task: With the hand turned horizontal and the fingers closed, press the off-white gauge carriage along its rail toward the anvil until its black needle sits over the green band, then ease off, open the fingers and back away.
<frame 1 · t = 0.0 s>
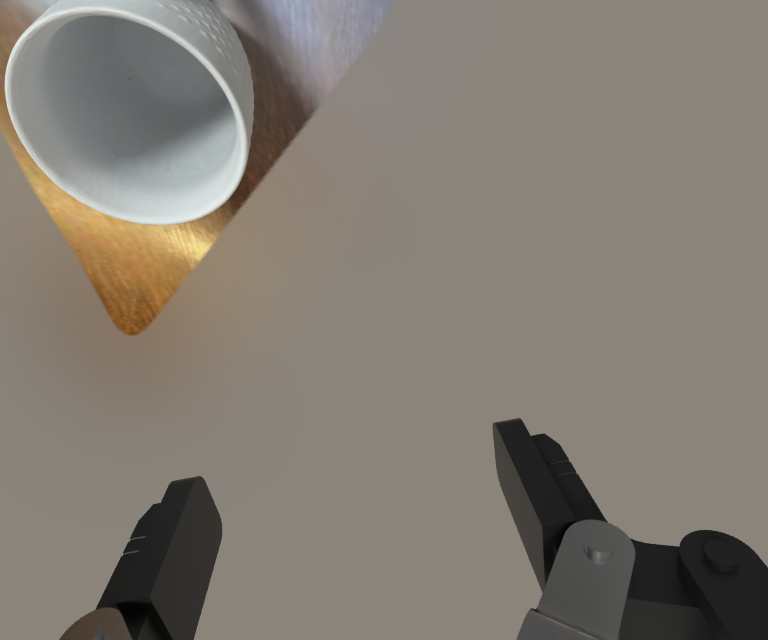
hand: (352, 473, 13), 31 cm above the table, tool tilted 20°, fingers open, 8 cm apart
mug: (176, 29, 33), on the table
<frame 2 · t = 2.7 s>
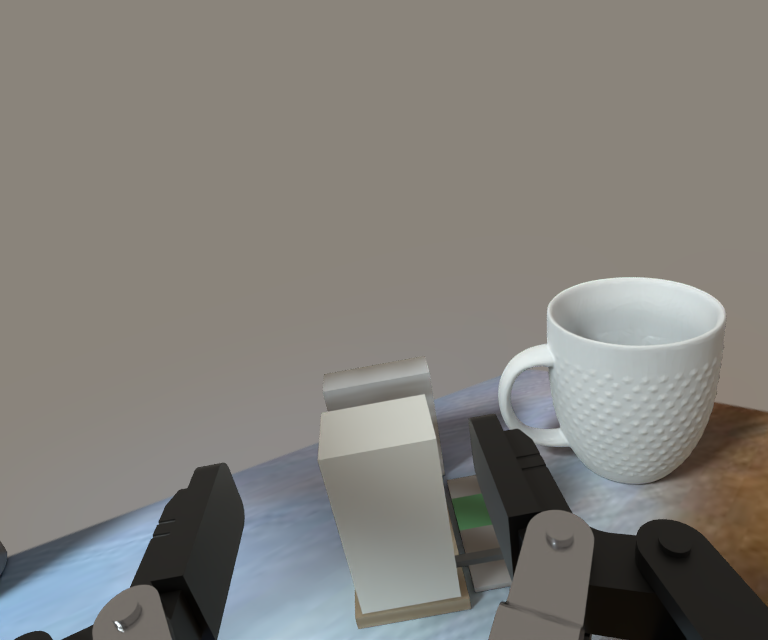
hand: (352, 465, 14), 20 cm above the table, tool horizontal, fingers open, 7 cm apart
gauge carriage: (422, 501, 29), point 7 cm above the table, slide at 0.0 cm
gauge base: (402, 522, 37), on the table
mug: (609, 458, 39), on the table
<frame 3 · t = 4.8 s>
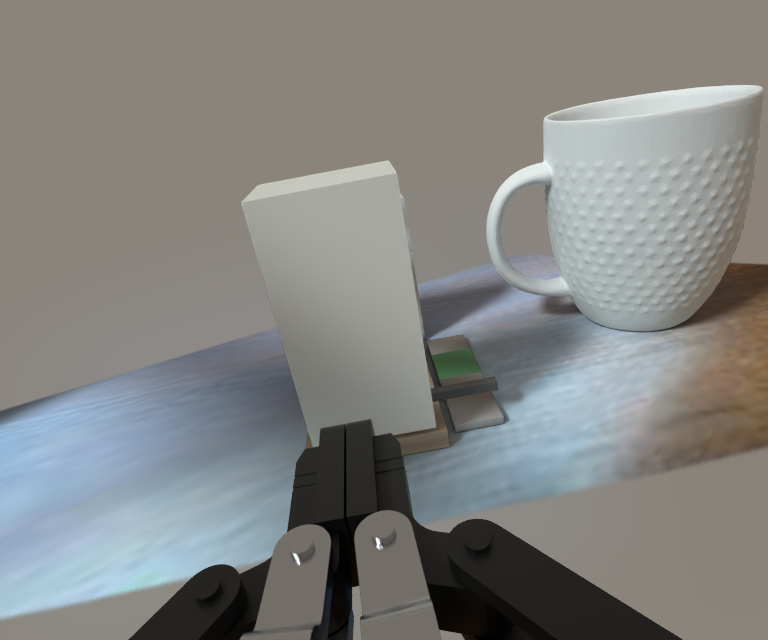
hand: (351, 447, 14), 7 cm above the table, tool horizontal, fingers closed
gauge carriage: (386, 302, 23), point 7 cm above the table, slide at 0.0 cm
gauge base: (372, 379, 31), on the table
mug: (617, 314, 34), on the table
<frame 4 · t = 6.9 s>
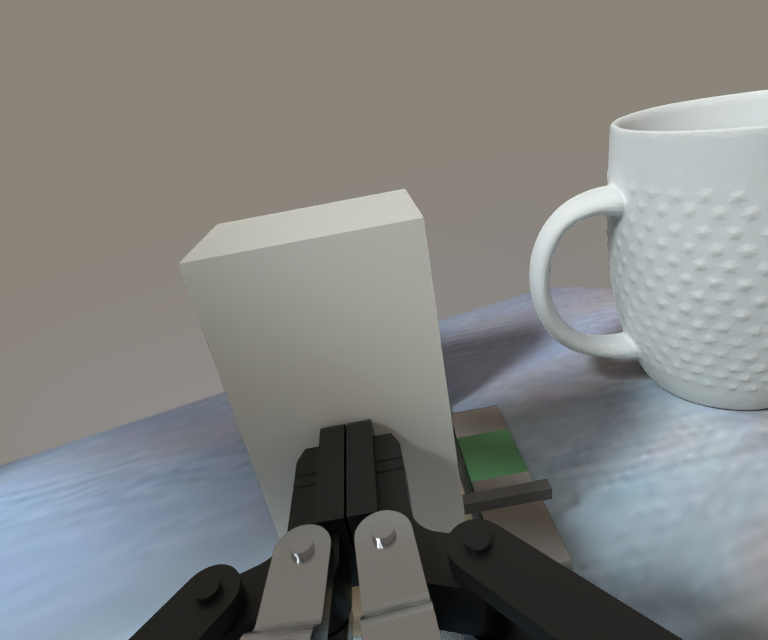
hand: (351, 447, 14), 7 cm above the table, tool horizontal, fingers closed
gauge carriage: (402, 389, 16), point 7 cm above the table, slide at 1.0 cm, touching gripper
gauge base: (379, 473, 23), on the table
mug: (696, 379, 26), on the table
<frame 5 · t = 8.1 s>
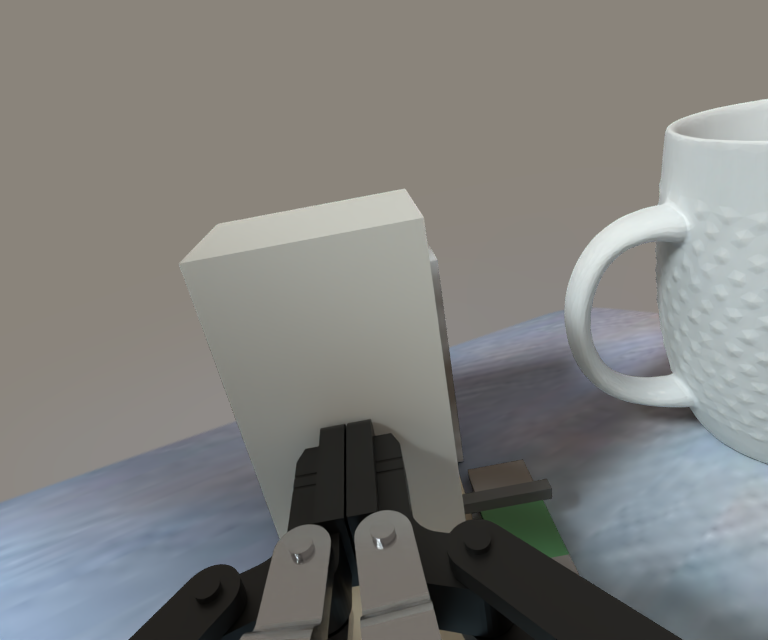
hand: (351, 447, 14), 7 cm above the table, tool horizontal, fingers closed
gauge carriage: (402, 389, 16), point 7 cm above the table, slide at 5.3 cm, touching gripper
gauge base: (386, 548, 19), on the table
mug: (758, 429, 22), on the table
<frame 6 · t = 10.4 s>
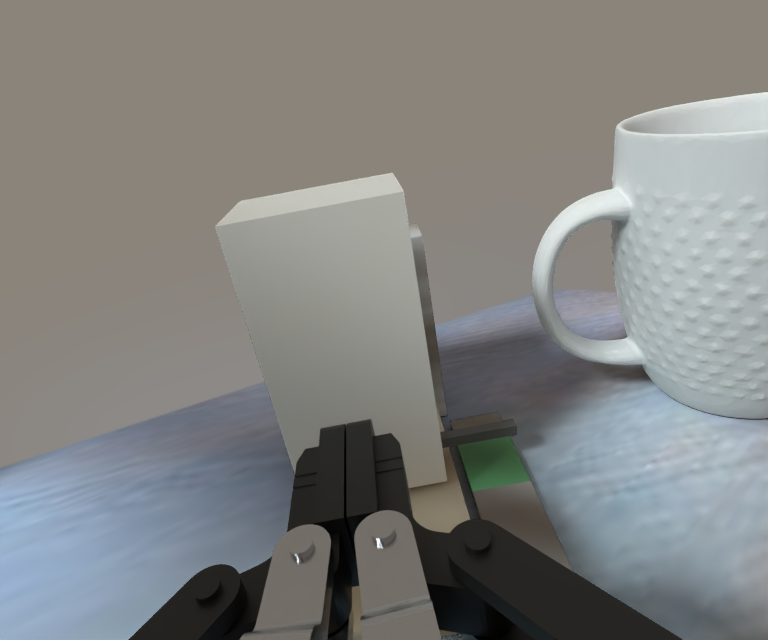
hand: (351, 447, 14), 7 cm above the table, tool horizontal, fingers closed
gauge carriage: (390, 338, 20), point 7 cm above the table, slide at 5.4 cm
gauge base: (378, 481, 23), on the table
mug: (702, 386, 25), on the table
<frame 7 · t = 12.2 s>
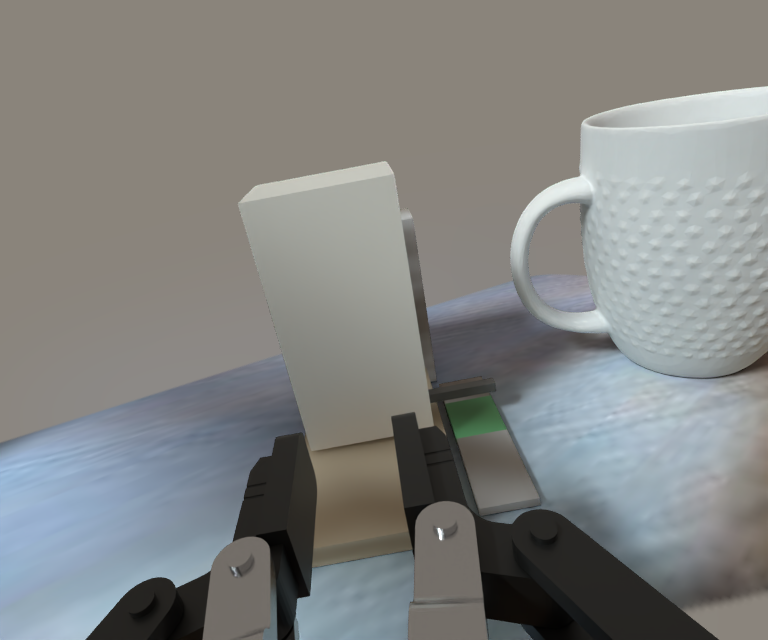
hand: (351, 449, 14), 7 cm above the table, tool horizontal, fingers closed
gauge carriage: (384, 303, 23), point 7 cm above the table, slide at 5.4 cm
gauge base: (375, 434, 26), on the table
mug: (662, 353, 29), on the table
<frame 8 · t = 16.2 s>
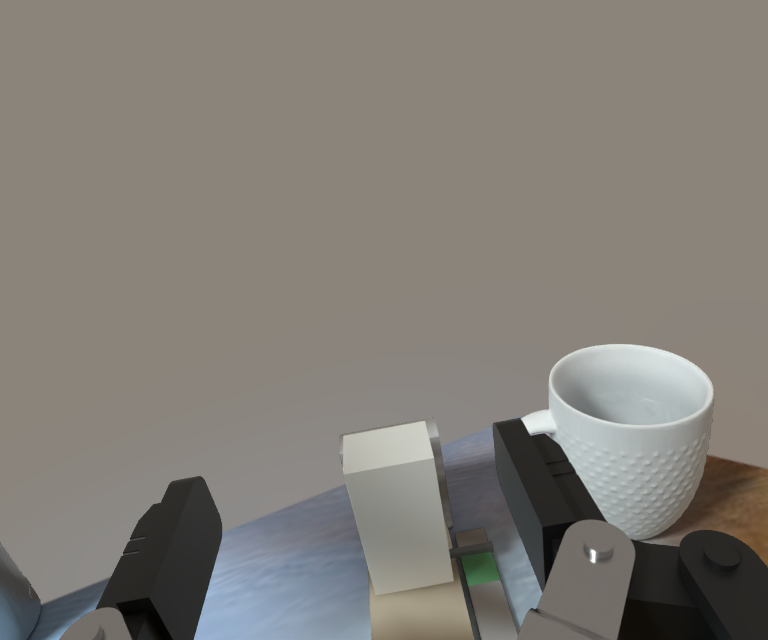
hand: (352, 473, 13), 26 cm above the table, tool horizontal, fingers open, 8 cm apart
gauge carriage: (423, 505, 36), point 7 cm above the table, slide at 5.4 cm
gauge base: (413, 575, 39), on the table
mug: (607, 511, 42), on the table
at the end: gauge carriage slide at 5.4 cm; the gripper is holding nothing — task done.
